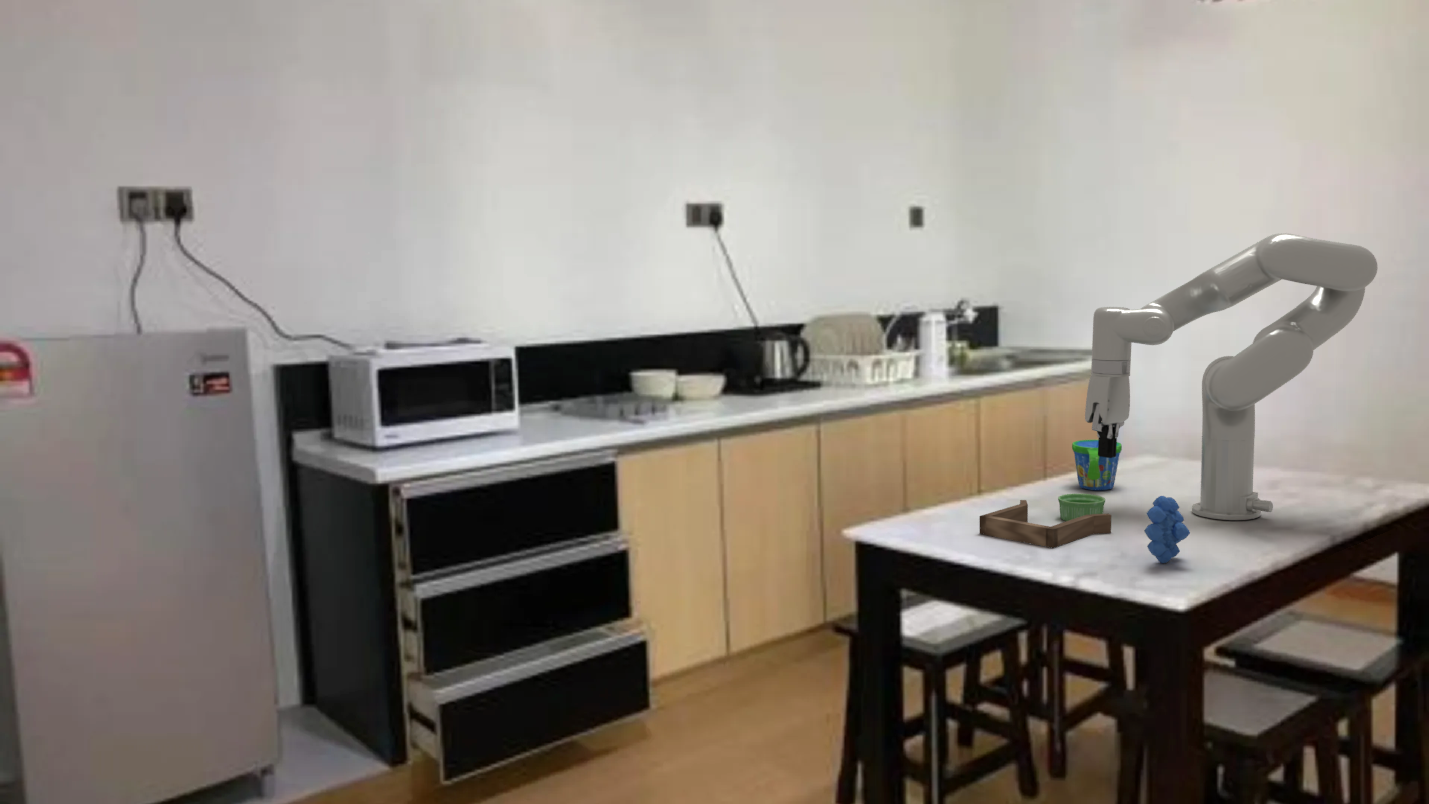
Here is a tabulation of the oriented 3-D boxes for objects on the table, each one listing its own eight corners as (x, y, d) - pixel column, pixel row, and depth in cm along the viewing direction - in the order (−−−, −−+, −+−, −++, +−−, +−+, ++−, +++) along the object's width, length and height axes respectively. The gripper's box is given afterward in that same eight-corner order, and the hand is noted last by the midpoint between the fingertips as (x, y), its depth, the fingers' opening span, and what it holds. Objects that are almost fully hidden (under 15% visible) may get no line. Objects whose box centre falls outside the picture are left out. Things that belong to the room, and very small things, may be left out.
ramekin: (1104, 526, 222) (1104, 504, 221) (1056, 523, 225) (1056, 501, 224) (1105, 515, 230) (1105, 494, 230) (1059, 513, 233) (1059, 492, 233)
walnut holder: (1112, 532, 216) (1113, 514, 216) (1062, 550, 205) (1063, 531, 205) (1022, 516, 231) (1022, 499, 231) (970, 532, 220) (970, 514, 220)
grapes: (1175, 575, 188) (1176, 503, 186) (1135, 568, 193) (1136, 498, 191) (1202, 559, 196) (1204, 491, 195) (1163, 553, 201) (1165, 486, 199)
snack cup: (1114, 496, 246) (1115, 450, 245) (1064, 493, 251) (1065, 447, 250) (1126, 482, 260) (1127, 438, 259) (1079, 479, 265) (1079, 436, 264)
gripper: (1112, 363, 239) (1109, 449, 241) (1074, 369, 229) (1070, 458, 232) (1146, 366, 233) (1142, 454, 236) (1108, 372, 223) (1104, 464, 226)
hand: (1106, 456), depth 234 cm, fingers closed
